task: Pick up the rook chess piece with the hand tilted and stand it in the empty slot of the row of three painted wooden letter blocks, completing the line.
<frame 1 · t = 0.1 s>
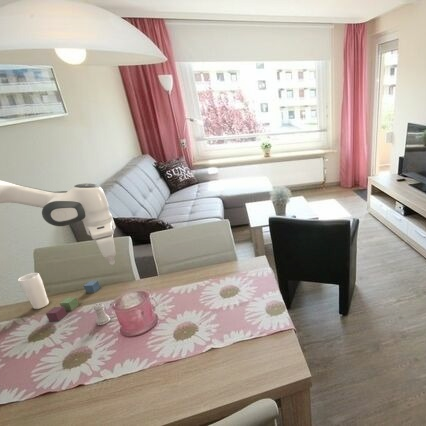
hand: (111, 259, 113), 25 cm above the table, tool pointing down, fingers open, 8 cm apart
white tall hollow cylinder: (41, 306, 129), on the table
block a: (93, 290, 139), on the table
block c: (58, 318, 120), on the table
rook chess piece: (104, 322, 117), on the table
block b: (71, 307, 127), on the table
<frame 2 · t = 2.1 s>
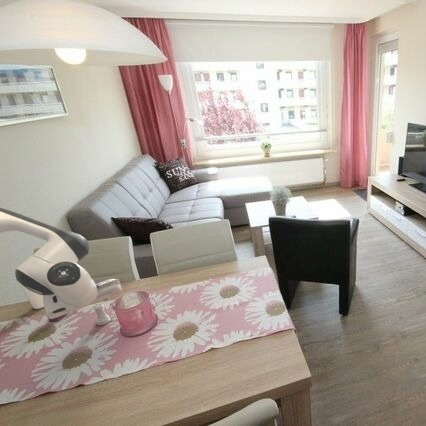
hand: (91, 304, 103), 15 cm above the table, tool tilted 40°, fingers open, 8 cm apart
nothing on the table moved.
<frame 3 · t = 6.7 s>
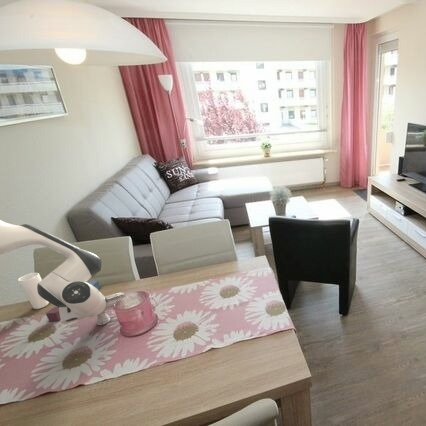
hand: (100, 312, 115), 4 cm above the table, tool tilted 45°, fingers closed on rook chess piece, 3 cm apart
rook chess piece: (104, 322, 117), on the table, touching gripper
everything else where it was.
when the fingers open (4 cm above the table, at t = 17.2 s): rook chess piece stays where it is, on the table.
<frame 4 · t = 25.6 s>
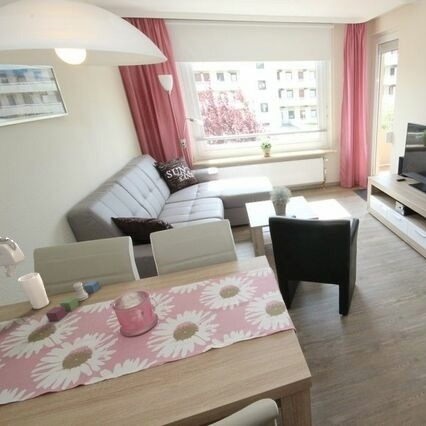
rook chess piece: (83, 299, 133), on the table
everything else where it was.
at the end: rook chess piece 0.1 cm from the target spot on the table beside the block a, on the table; rook chess piece tilted 0°; the gripper is holding nothing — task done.
